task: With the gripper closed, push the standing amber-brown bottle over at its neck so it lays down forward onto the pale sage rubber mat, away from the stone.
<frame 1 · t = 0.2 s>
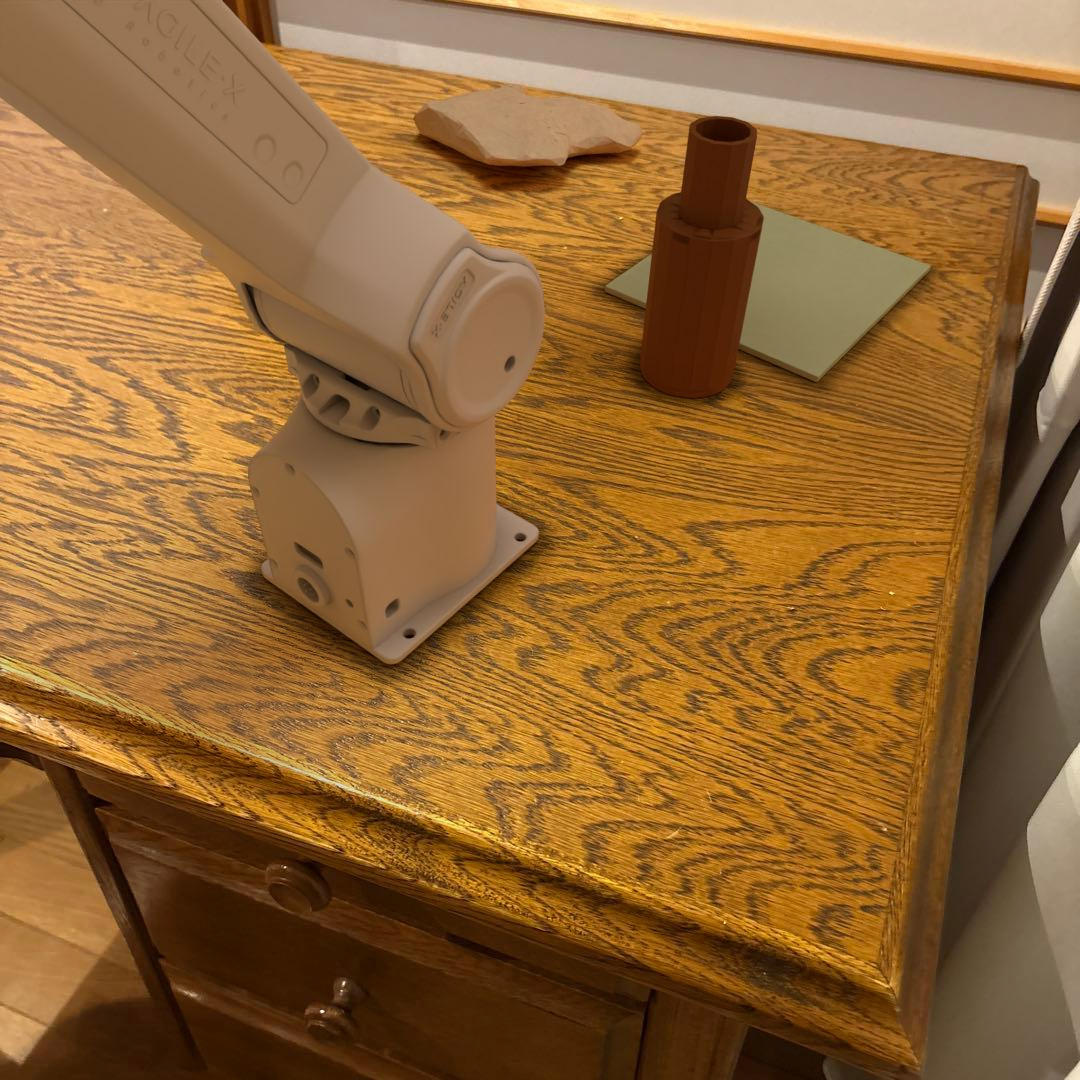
bottle: (686, 369, 53), on the table
mat: (770, 281, 60), on the table
stone: (527, 148, 72), on the table
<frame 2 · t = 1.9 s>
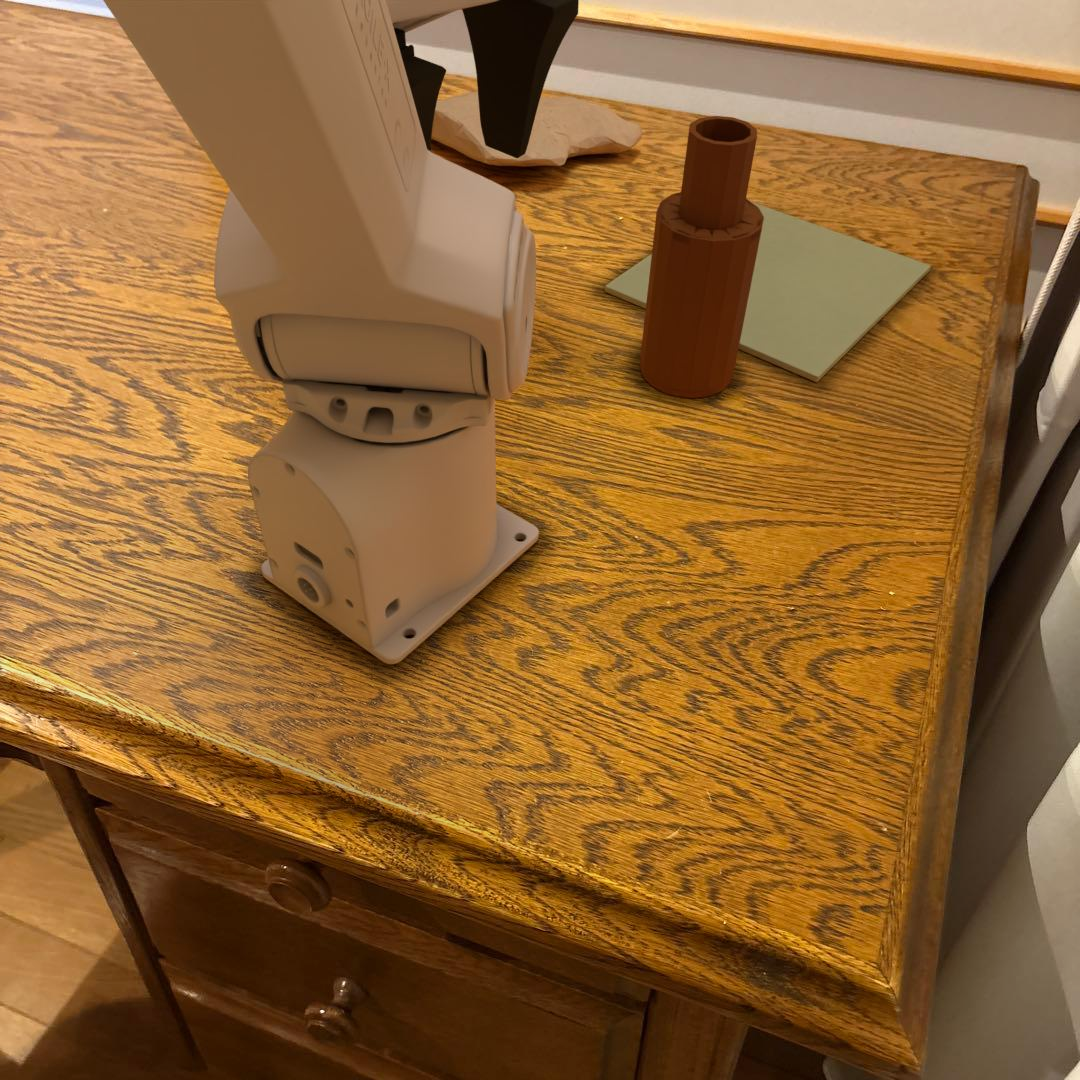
hand: (458, 176, 46), 10 cm above the table, tool pointing down, fingers open, 6 cm apart
nothing on the table moved.
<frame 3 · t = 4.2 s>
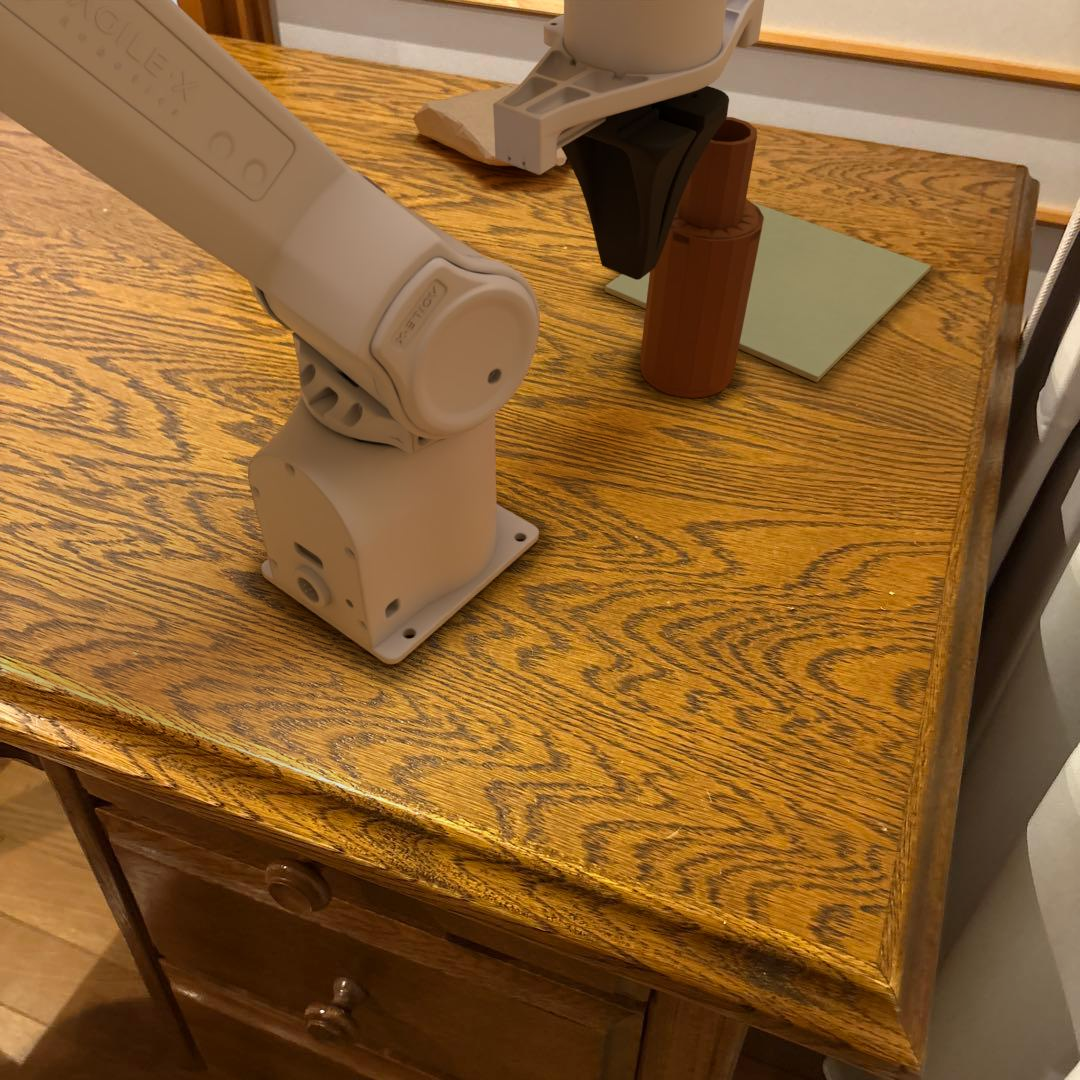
hand: (628, 266, 42), 9 cm above the table, tool pointing down, fingers closed
nothing on the table moved.
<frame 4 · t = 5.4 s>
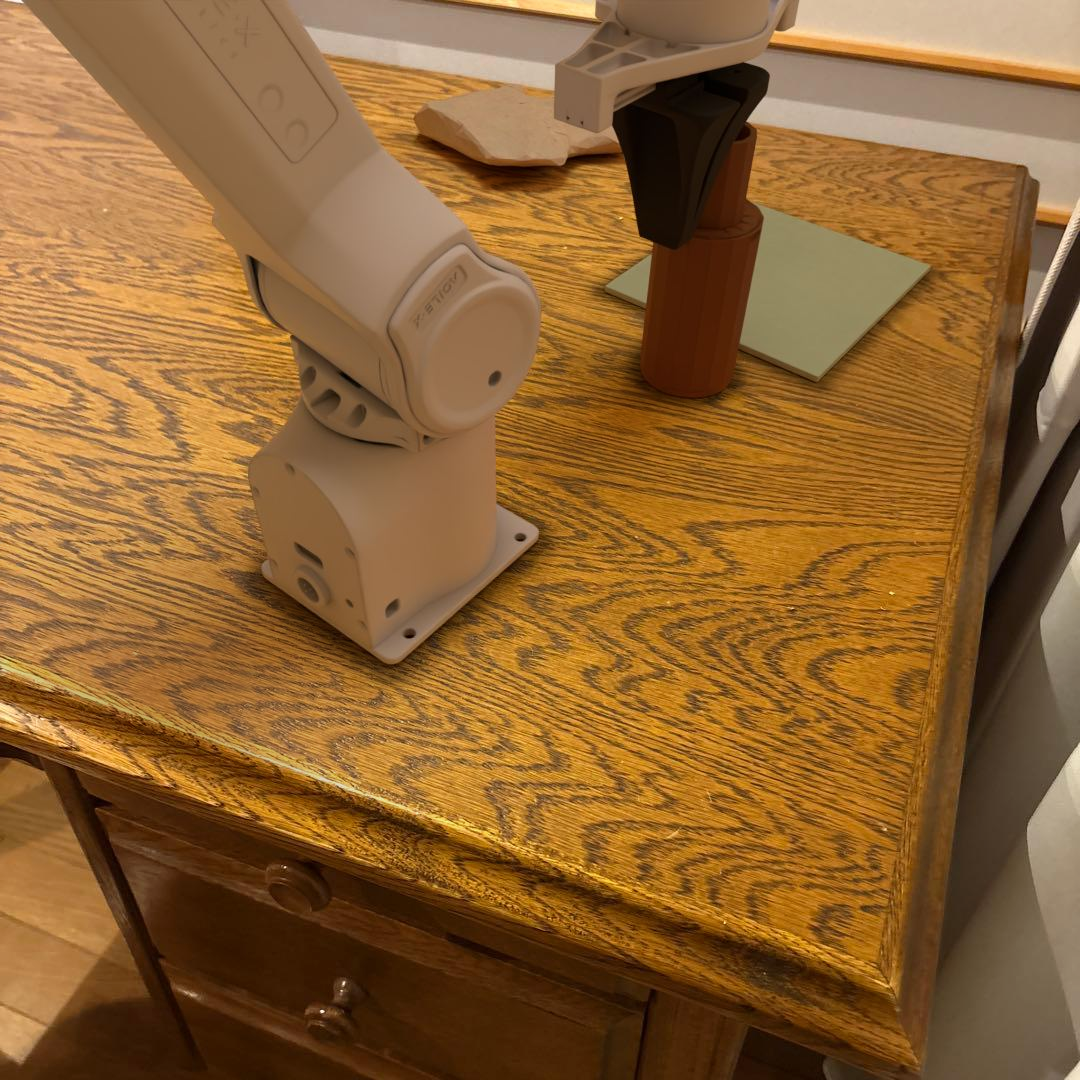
hand: (664, 237, 44), 9 cm above the table, tool pointing down, fingers closed
nothing on the table moved.
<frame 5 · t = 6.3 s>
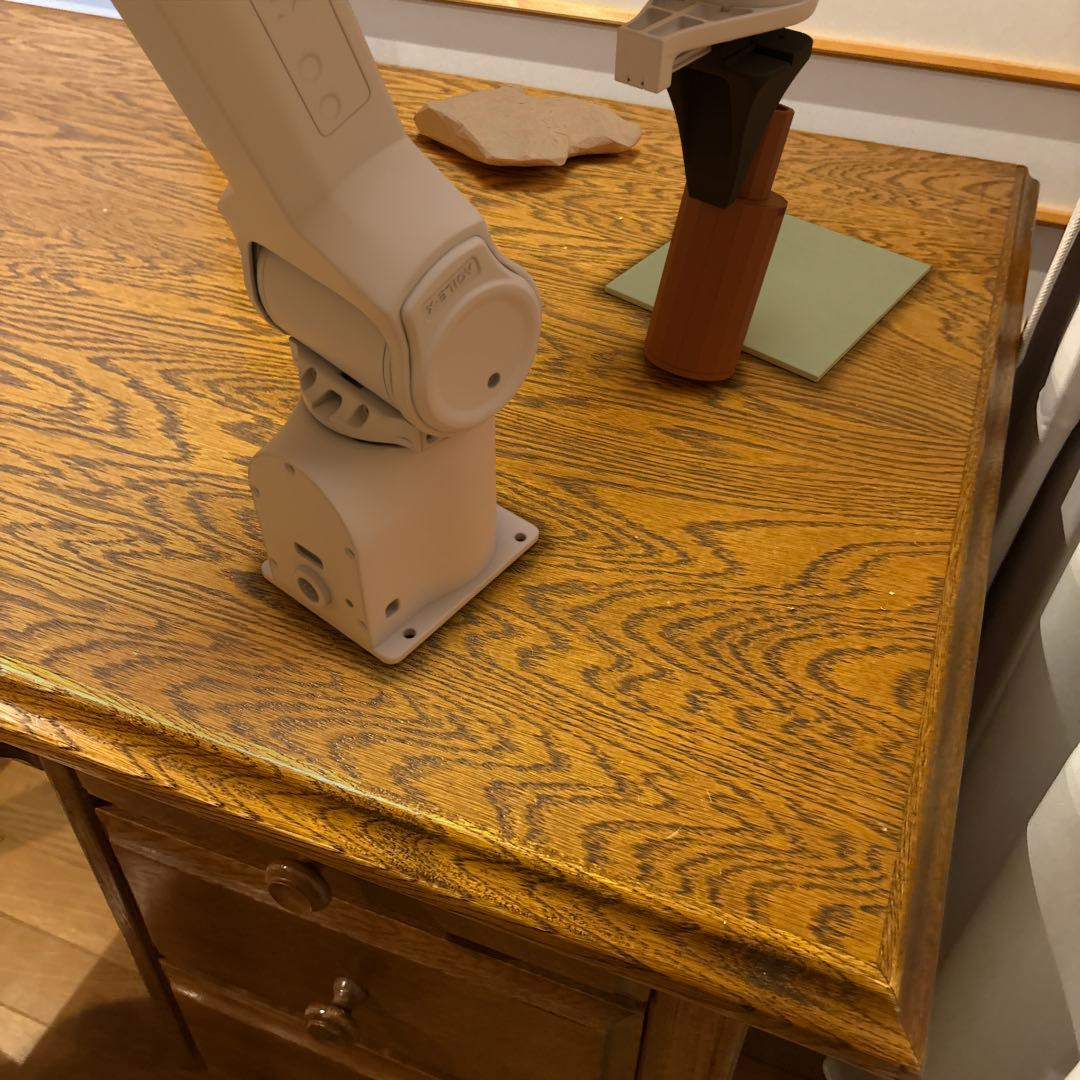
hand: (711, 198, 46), 10 cm above the table, tool pointing down, fingers closed, pressing on bottle
bottle: (688, 360, 53), point 1 cm above the table, tilted 15°, touching gripper
everything else where it was.
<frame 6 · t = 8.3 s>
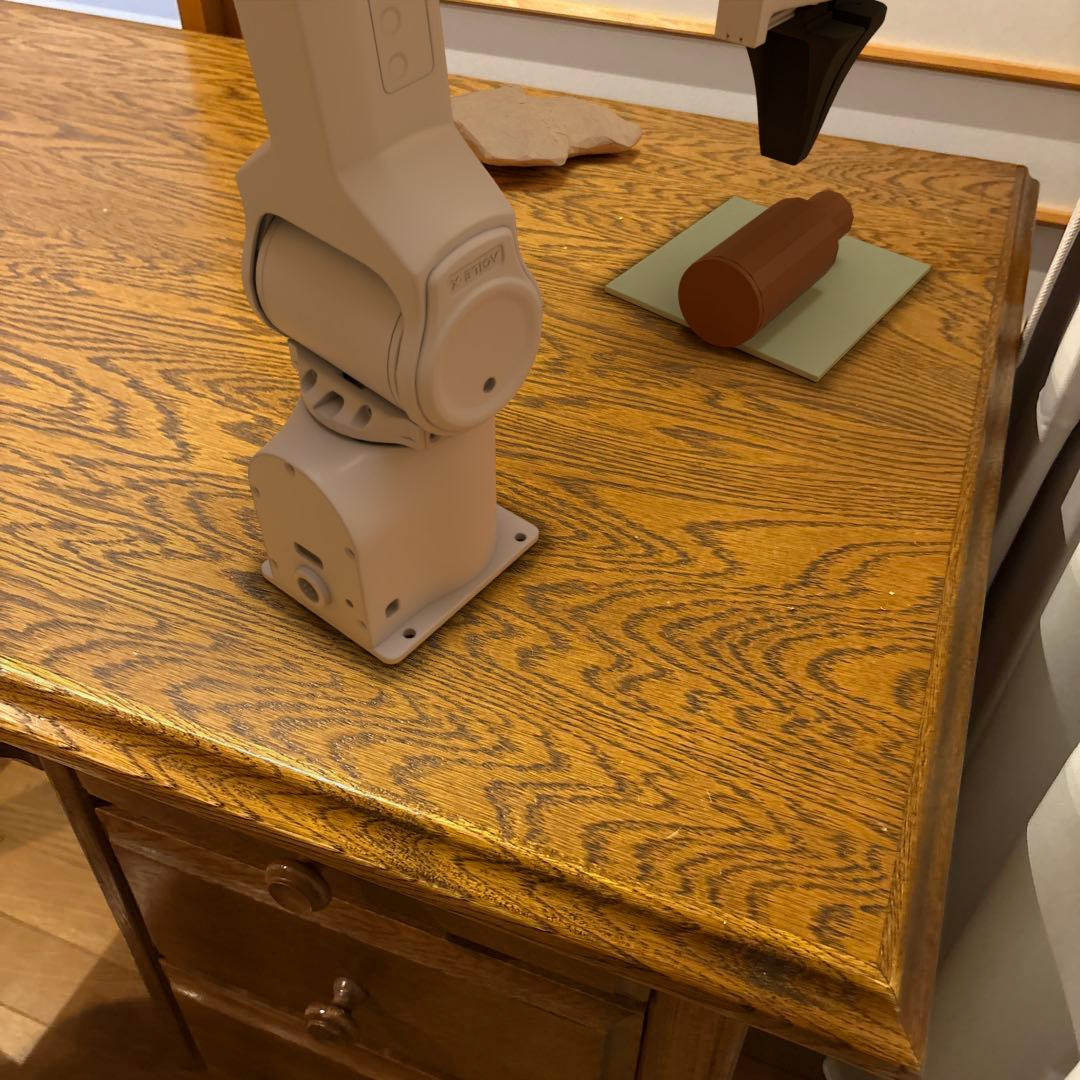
hand: (783, 156, 50), 9 cm above the table, tool pointing down, fingers closed
bottle: (717, 304, 52), point 3 cm above the table, tilted 90°, touching mat
everything else where it was.
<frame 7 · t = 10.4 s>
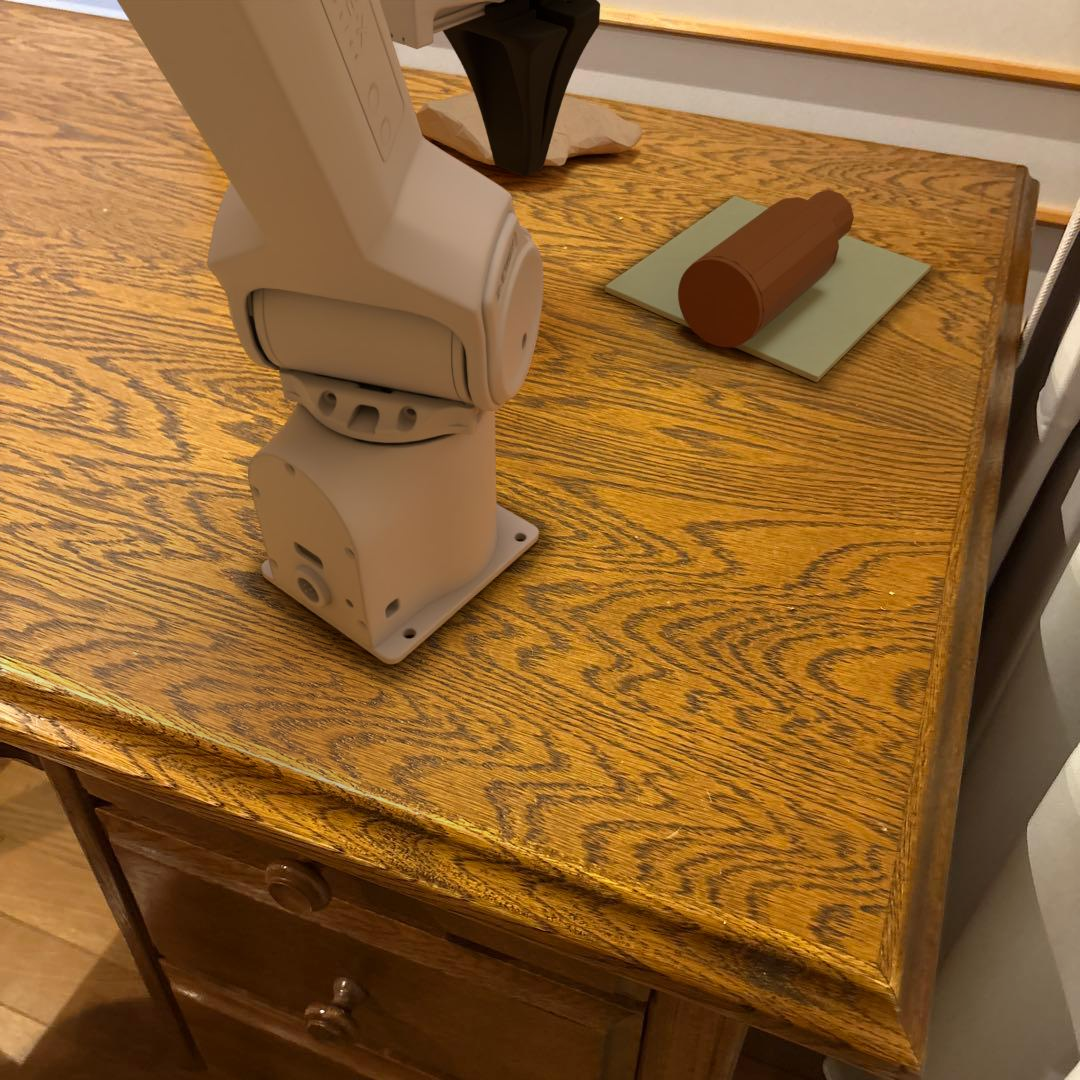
hand: (518, 165, 47), 10 cm above the table, tool pointing down, fingers closed
nothing on the table moved.
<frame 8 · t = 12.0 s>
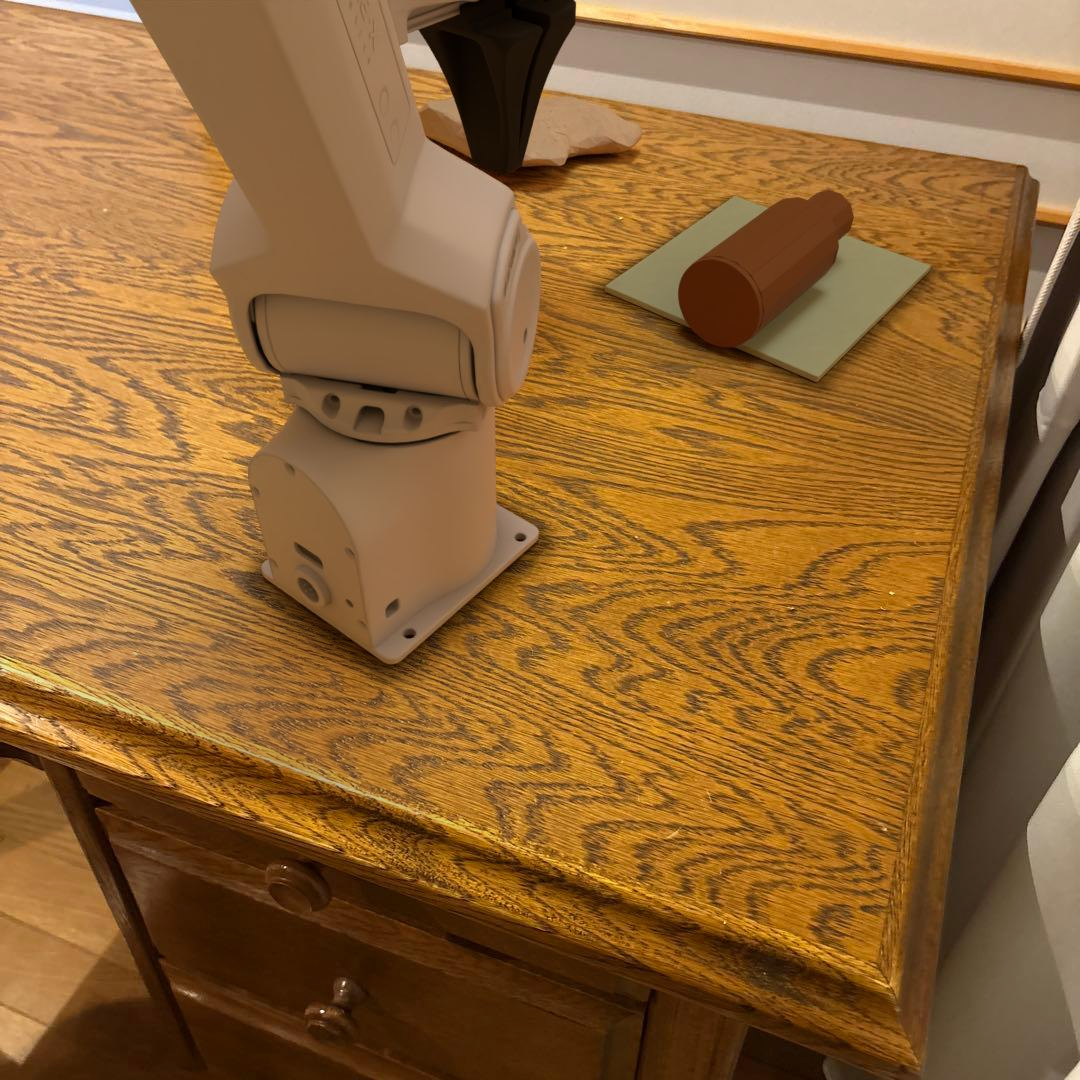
hand: (497, 165, 47), 10 cm above the table, tool pointing down, fingers closed
nothing on the table moved.
at the end: bottle tilted 90°; bottle inside the target area on the mat (5.7 cm from its centre), point 2.9 cm above the mat's base; bottle touching mat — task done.
